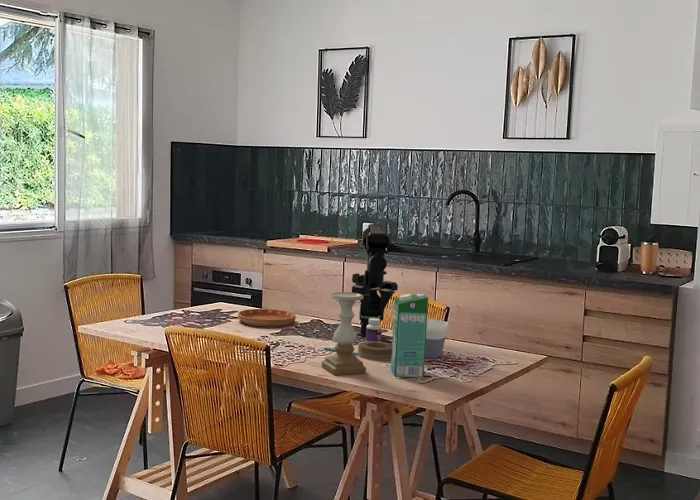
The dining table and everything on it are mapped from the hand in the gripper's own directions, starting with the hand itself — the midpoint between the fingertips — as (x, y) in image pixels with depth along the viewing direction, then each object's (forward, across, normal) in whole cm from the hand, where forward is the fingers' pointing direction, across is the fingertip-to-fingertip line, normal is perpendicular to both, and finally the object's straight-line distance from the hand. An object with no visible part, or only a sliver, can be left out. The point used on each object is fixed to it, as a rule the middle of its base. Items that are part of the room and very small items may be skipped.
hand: (373, 311), depth 287 cm
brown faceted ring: (+12, +10, +10) cm, 19 cm away
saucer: (+13, +4, -53) cm, 54 cm away
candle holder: (+12, +33, +17) cm, 39 cm away
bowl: (+13, -6, +19) cm, 24 cm away
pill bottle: (+13, 0, 0) cm, 13 cm away
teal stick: (+12, +16, 0) cm, 20 cm away
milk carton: (+12, +19, +32) cm, 39 cm away
